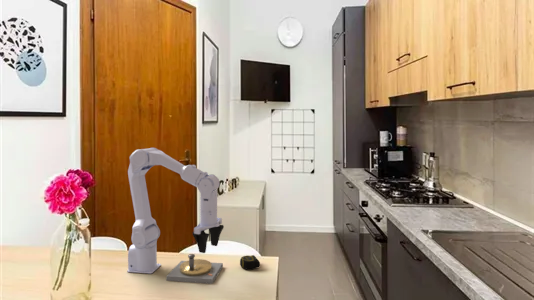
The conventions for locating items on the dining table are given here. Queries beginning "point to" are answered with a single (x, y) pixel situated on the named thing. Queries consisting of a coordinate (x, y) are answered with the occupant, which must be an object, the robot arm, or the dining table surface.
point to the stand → (205, 278)
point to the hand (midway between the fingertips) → (208, 248)
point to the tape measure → (249, 262)
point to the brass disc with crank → (195, 266)
